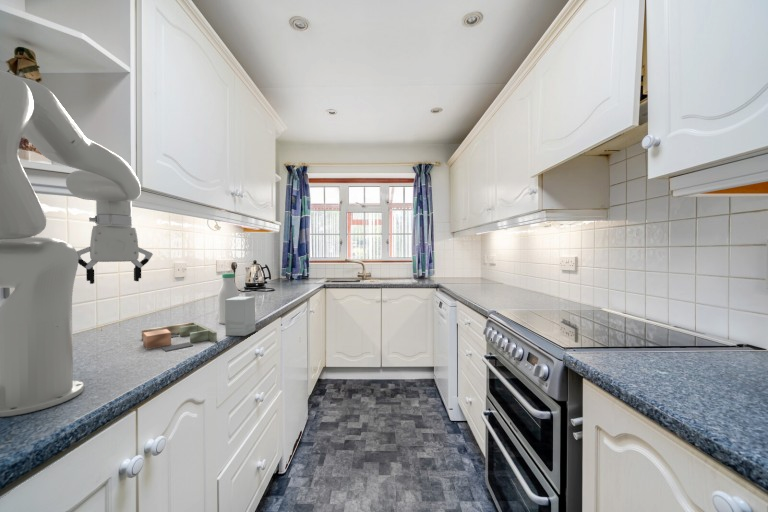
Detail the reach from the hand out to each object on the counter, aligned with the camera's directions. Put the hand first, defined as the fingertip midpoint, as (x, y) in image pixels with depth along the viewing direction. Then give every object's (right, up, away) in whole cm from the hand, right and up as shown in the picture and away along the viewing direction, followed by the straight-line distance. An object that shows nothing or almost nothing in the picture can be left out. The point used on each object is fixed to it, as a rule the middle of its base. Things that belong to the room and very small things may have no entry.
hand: (115, 282), depth 86 cm
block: (+6, -20, +7) cm, 23 cm away
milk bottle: (+13, -20, +38) cm, 45 cm away
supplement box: (+26, -20, +21) cm, 39 cm away
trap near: (+14, -20, +5) cm, 25 cm away
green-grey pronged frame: (+10, -20, +12) cm, 25 cm away
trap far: (+3, -20, +15) cm, 25 cm away
